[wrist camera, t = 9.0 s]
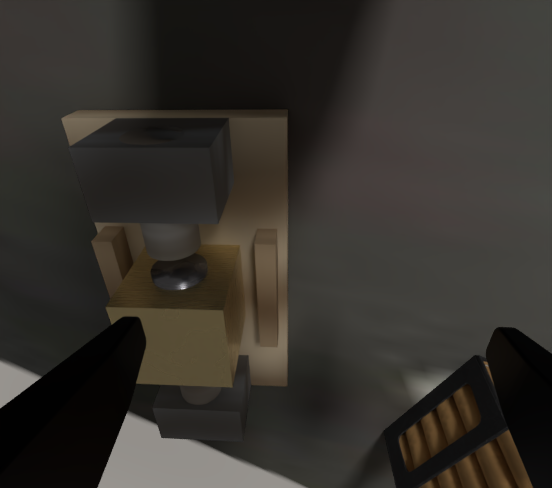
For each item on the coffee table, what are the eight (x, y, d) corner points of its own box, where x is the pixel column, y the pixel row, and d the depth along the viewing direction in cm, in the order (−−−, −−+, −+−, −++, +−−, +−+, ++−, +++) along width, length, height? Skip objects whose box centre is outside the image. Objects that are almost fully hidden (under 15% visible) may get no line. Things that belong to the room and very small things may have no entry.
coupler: (239, 240, 20) (222, 304, 15) (246, 319, 23) (233, 391, 18) (145, 238, 20) (103, 301, 16) (164, 316, 23) (133, 387, 19)
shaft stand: (78, 110, 18) (0, 147, 13) (287, 109, 17) (282, 148, 13) (152, 363, 28) (121, 436, 23) (287, 368, 27) (285, 444, 22)
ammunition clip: (476, 353, 25) (594, 587, 15) (498, 362, 25) (627, 598, 15) (382, 431, 31) (422, 642, 20) (401, 438, 31) (450, 648, 21)
